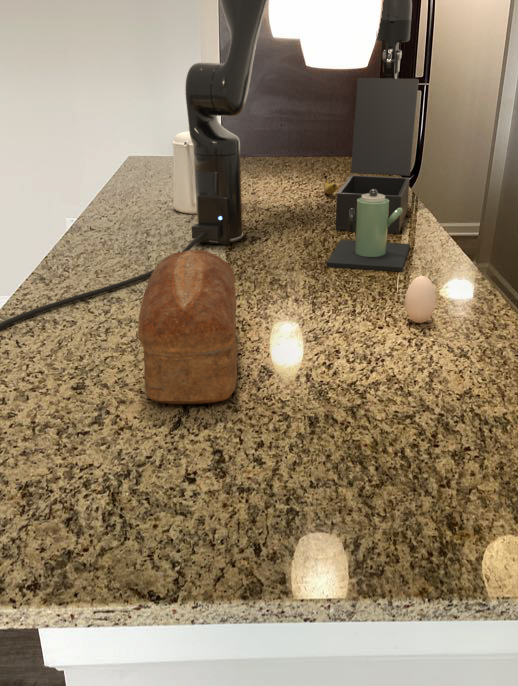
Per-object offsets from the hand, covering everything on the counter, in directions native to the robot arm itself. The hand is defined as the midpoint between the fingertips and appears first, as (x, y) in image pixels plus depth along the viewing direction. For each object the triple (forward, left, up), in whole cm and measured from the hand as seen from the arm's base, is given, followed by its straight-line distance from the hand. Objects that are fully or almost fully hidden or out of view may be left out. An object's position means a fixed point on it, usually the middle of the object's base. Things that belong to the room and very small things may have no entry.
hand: (389, 101), depth 184 cm
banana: (+2, +14, -23) cm, 27 cm away
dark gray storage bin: (-21, 0, -23) cm, 31 cm away
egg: (-82, -15, -23) cm, 86 cm away
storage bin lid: (-9, 0, -5) cm, 10 cm away
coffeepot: (-20, +42, -23) cm, 52 cm away
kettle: (-49, -3, -22) cm, 54 cm away
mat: (-49, -3, -23) cm, 54 cm away
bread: (-104, +14, -23) cm, 108 cm away
